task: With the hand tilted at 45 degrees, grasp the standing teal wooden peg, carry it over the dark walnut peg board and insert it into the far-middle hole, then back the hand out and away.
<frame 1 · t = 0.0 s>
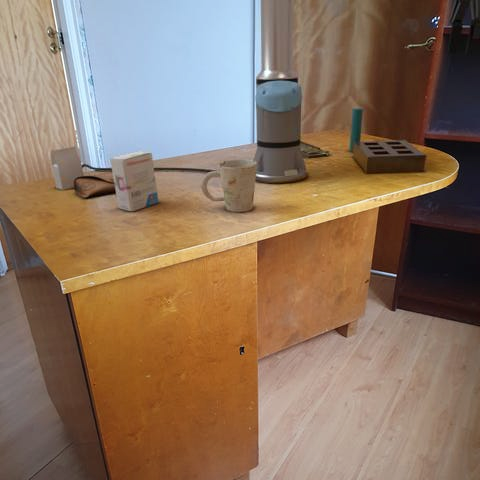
hand: (461, 53, 132), 28 cm above the table, tool pointing down, fingers open, 13 cm apart
mug: (230, 209, 113), on the table
ink box: (138, 206, 117), on the table
sunglasses case: (113, 190, 131), on the table
peg board: (385, 163, 145), on the table
keyboard: (304, 151, 165), on the table
peg: (354, 151, 162), on the table
grey box: (71, 186, 136), on the table
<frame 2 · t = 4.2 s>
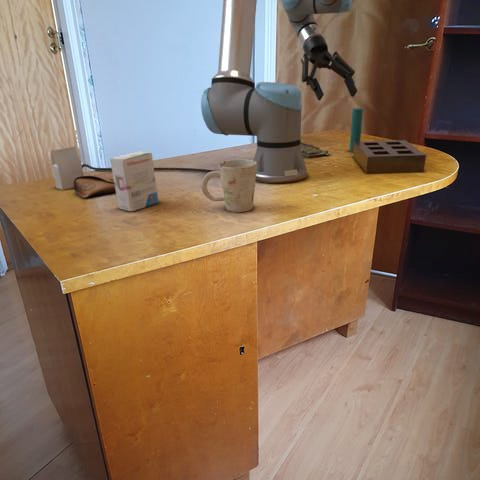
hand: (338, 95, 162), 16 cm above the table, tool tilted 45°, fingers open, 13 cm apart
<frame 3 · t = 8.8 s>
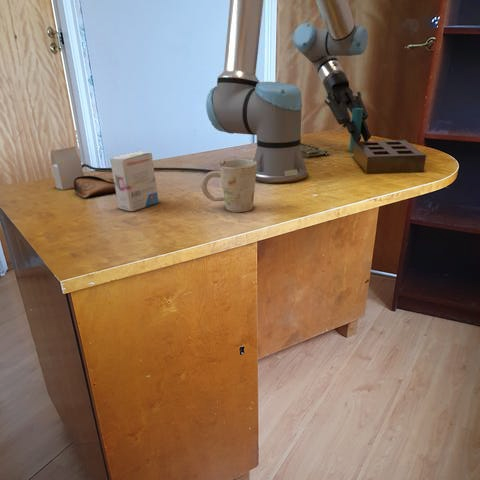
hand: (363, 139, 157), 4 cm above the table, tool tilted 45°, fingers closed on peg, 3 cm apart
peg: (354, 151, 162), on the table, touching gripper
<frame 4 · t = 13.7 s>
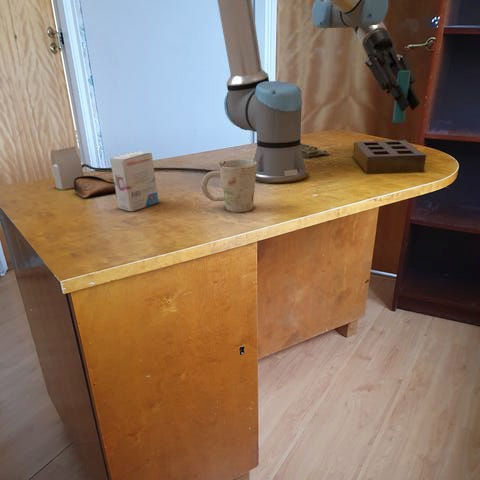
hand: (410, 107, 136), 15 cm above the table, tool tilted 45°, fingers closed on peg, 3 cm apart
peg: (398, 121, 141), point 11 cm above the table, touching gripper
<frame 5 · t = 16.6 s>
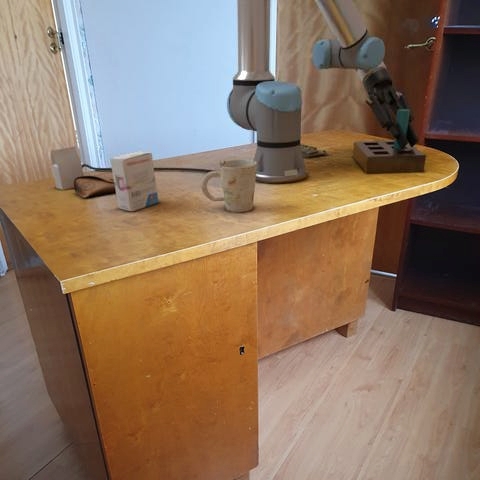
hand: (409, 144, 139), 6 cm above the table, tool tilted 45°, fingers closed on peg, 3 cm apart
peg: (398, 157, 144), point 2 cm above the table, touching gripper
when the fingers open (6 cm above the table, at t = 18.7 s): peg drops 2 cm, resting in peg board.
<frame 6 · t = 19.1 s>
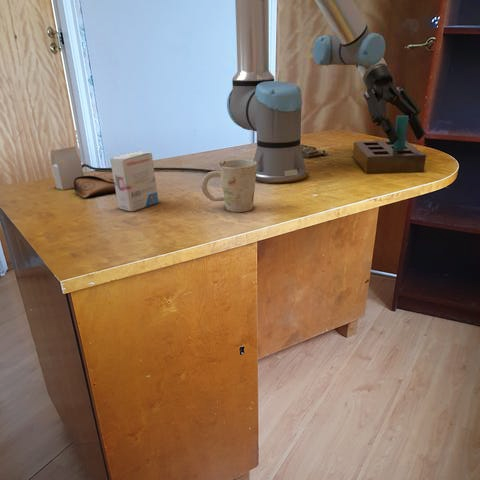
hand: (408, 138, 139), 7 cm above the table, tool tilted 45°, fingers open, 9 cm apart
peg: (397, 163, 145), resting in peg board
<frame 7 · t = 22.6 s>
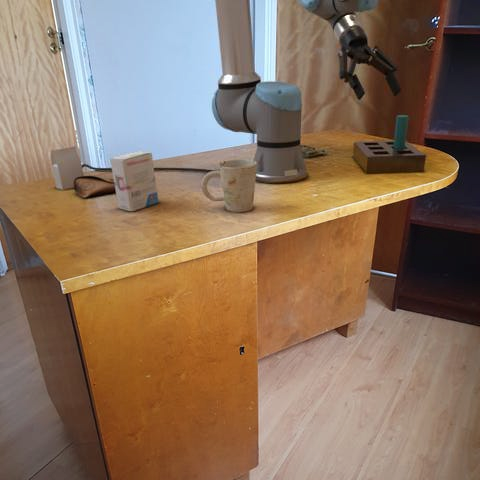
hand: (380, 94, 144), 18 cm above the table, tool tilted 45°, fingers open, 13 cm apart
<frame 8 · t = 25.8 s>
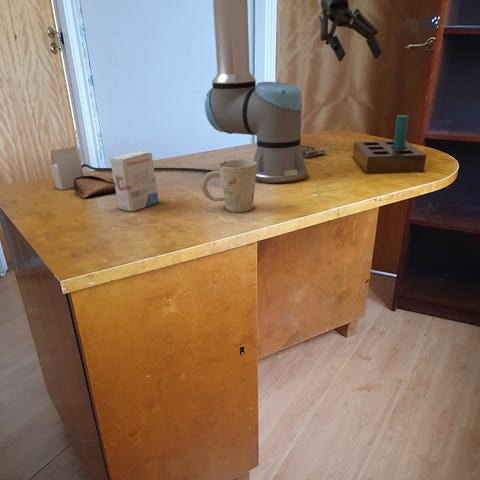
hand: (360, 56, 146), 28 cm above the table, tool tilted 45°, fingers open, 13 cm apart
at the end: peg 0.0 cm from the target spot in the peg board, point 0.0 cm above the peg board's base; peg tilted 0°; the gripper is holding nothing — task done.
